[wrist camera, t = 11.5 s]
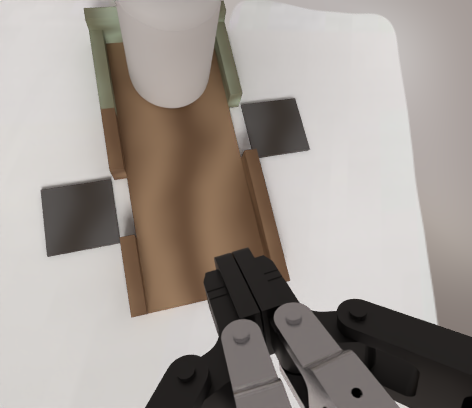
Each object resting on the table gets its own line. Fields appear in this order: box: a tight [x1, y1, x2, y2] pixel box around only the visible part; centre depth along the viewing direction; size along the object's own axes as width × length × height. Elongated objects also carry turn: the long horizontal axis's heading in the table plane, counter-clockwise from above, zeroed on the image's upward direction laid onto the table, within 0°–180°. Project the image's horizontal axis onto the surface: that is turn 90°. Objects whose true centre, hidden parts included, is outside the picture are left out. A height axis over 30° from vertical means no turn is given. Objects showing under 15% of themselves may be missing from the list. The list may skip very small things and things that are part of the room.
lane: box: [41, 1, 310, 317], centre depth 33 cm, size 26×28×4 cm
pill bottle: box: [115, 0, 221, 108], centre depth 29 cm, size 8×8×15 cm
